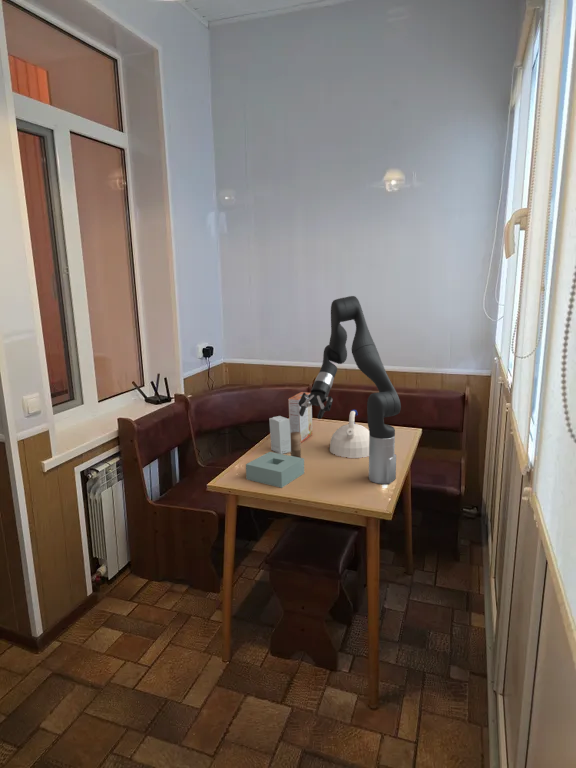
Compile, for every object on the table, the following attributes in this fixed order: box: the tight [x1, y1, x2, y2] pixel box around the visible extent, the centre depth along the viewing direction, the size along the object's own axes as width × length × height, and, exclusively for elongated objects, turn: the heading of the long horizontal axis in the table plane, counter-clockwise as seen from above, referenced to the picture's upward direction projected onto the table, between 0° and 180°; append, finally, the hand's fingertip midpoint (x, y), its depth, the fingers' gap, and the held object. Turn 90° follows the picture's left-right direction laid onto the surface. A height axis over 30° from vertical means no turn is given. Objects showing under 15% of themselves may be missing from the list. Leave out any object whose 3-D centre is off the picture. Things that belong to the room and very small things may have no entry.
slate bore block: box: [245, 451, 305, 489], centre depth 196 cm, size 16×16×6 cm
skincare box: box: [268, 415, 291, 455], centre depth 223 cm, size 8×6×15 cm
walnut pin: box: [290, 432, 302, 458], centre depth 208 cm, size 4×4×13 cm
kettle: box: [329, 409, 369, 459], centre depth 222 cm, size 20×21×18 cm
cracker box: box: [288, 391, 313, 443], centre depth 239 cm, size 14×6×21 cm, turn 154°
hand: (309, 416), depth 215 cm, fingers open, 8 cm apart
